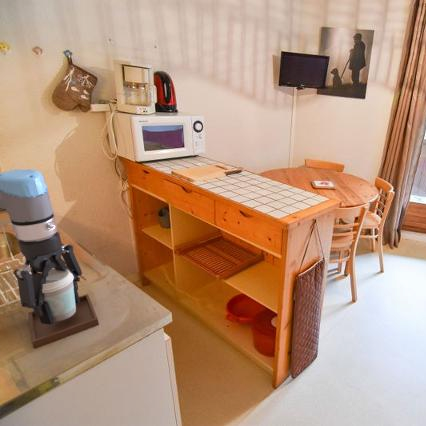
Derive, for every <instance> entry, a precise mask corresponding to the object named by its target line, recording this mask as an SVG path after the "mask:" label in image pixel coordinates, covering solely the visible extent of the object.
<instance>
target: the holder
mask: <svg viewBox="0 0 426 426" xmlns="http://www.w3.org/2000/svg"><path fill="white" fill-rule="evenodd" d="M79 299H80V302H79V303H75V306H76V312H75V313H74V314H73V315H72V316H71V317H69V318H67V319H65V320H62V321H54V323H53V324H52V325H50V324H43V323H41V321H40V318H39V316H36V315H35V312H34V310H32V311H29V312H27V314H28V322H29V327H30V328H29V329H30V336H31V343H32V346H33V349H37V348H40V347H42V346H45V345H48V344H51V343H53V342H56V341H59V340H61V339H65V338H67V337H70V336H73V335H75V334H78V333H80V332H83V331H86V330H89V329H91V328H94V327H96V326H99V325H100V322H99V319H98V316H97V314H96V313H97V312H96V311H95V308H94V306H93V303H92V300H91V298H90V295H89V294H88V293H87V294H83V295H79Z"/></svg>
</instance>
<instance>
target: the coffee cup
mask: <svg viewBox="0 0 426 426" xmlns="http://www.w3.org/2000/svg"><path fill="white" fill-rule="evenodd" d="M40 273H42V272H40ZM73 280H74V276H73V274H72V273H70V271H69V270H68V269H66V271H60V270H56V269H55V268H52V269H51V270H50V271H49V273H48V277H46V283H45V284H43V289H42V291H43V293H44V302H47V303H48V306H49V309H50V312H51V315H52V318H53V321H62V320H65V319H67V318H69V317H71V316H72V315H73V314H74V313H75V312H76V306H75V296H74V287H73Z"/></svg>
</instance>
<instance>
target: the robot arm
mask: <svg viewBox="0 0 426 426" xmlns="http://www.w3.org/2000/svg"><path fill="white" fill-rule="evenodd" d="M52 205H53V204H52V201H51V198H50V194H49V188H48V185H47V184H46V182H45V179H44V176H43V174H42V173H41V172H40V171H38V170H36V169H22V168H21V169H20V168H19V169H11V170H6V171H3V172H1V173H0V210H2V211H6V212H7V214H8V216H9V219H10V222H11V226H12V229H13V232H14V235H15V238H16V239H17V243H18V247H19V249H20V252H21V254H22V256H23V257H24V258H25V264H24V266H22V267H21V268H16V269H14V270H13V275H14V276H15V278H16V279H17V286H18V292H19V298H20V305H21V307H22V308H27V309H28V308H29V309H33V311H34V312H35V315H36V316H39V318H40V321H41V323H43V324H50V325H52V324H53V323H54V321H53V318H52V315H51V312H50V309H49V306H48V303H47V302H44V293H43V291H42V289H43V284H45V283H46V277H48V273H49V271H50V270H51V269H56V270H60V271H66V269H68V270H69V271H70V273H72V274H73V276H74V280H73V287H74V296H75V303H79V302H80V299H79V297H80V295H79V292H78V290H79V285H78V282H80V280H81V277H80V276H82V274H83V271H82V269H81V266H80V264H79V262H78V259H77V257H76V255H75V253H74V245H73V244H68V243H62V242H63V241H62V239H61V234H60V233H59V232H58V230H59V228H58V224H57V222H56V218H55V215H54V210H53V206H52ZM41 272H42V273H41Z"/></svg>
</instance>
